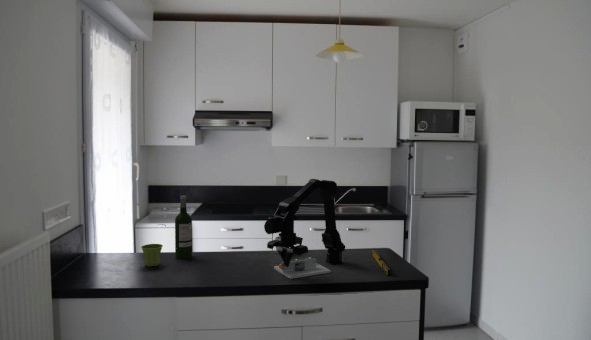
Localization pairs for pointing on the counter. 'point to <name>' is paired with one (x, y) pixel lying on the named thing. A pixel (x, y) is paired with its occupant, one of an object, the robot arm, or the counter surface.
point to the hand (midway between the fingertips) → (287, 266)
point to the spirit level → (381, 263)
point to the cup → (279, 240)
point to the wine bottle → (183, 232)
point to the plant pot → (152, 254)
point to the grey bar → (299, 264)
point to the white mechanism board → (303, 271)
